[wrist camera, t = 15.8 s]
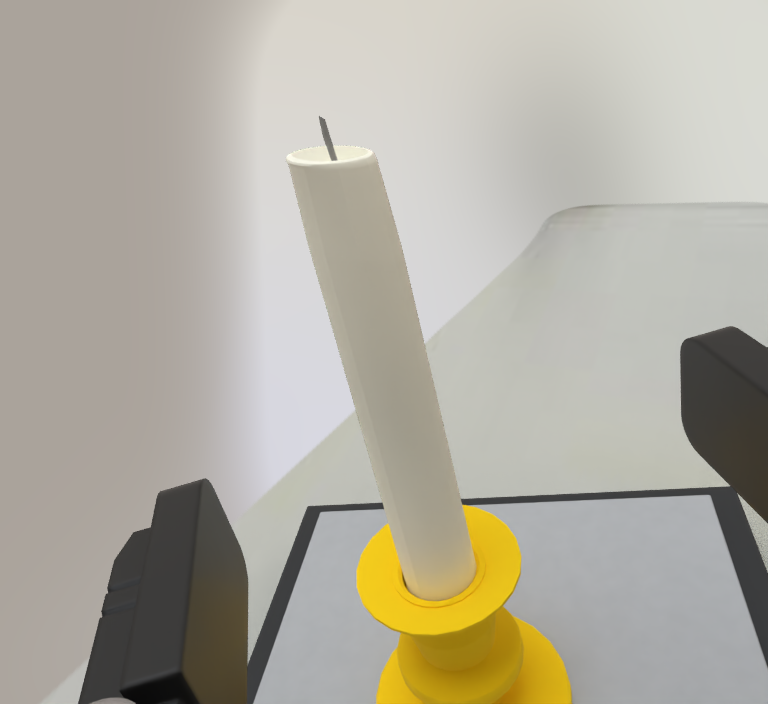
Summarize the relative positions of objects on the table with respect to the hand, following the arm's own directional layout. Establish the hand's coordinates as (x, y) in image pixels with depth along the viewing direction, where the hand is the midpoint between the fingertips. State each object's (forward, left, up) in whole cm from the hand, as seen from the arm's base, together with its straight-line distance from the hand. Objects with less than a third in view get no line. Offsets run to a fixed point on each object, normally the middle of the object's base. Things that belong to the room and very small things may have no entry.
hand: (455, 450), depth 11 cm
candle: (-1, +2, -10) cm, 11 cm away
